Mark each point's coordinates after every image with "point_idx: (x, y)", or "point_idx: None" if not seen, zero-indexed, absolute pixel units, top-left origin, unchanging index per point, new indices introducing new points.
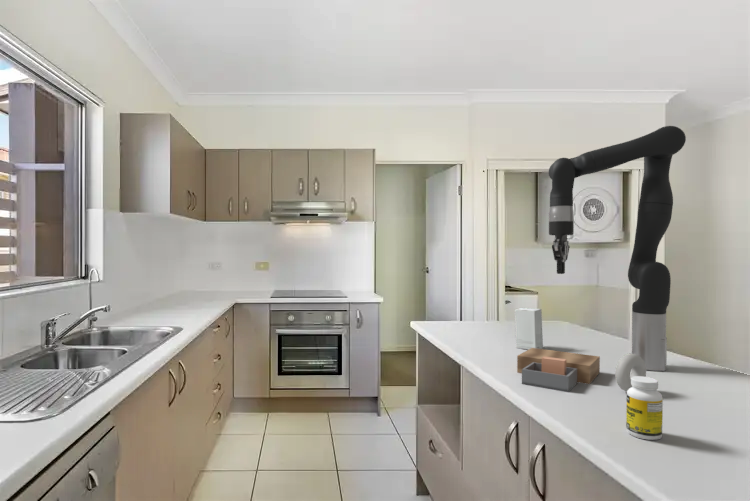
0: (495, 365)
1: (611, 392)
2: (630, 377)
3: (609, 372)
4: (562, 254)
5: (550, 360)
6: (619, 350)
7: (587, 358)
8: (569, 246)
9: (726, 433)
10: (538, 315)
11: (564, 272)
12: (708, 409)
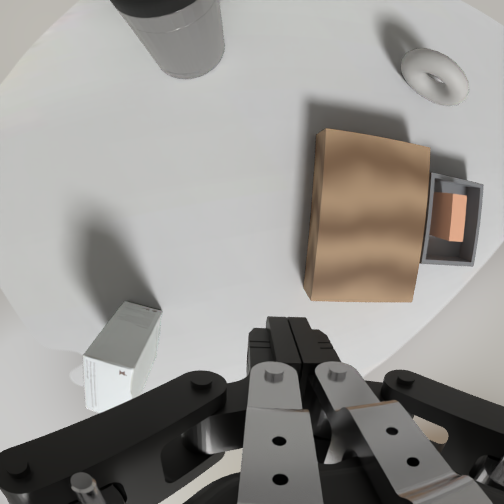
0: (360, 343)
1: (436, 116)
2: (422, 79)
3: (293, 115)
4: (434, 406)
5: (463, 223)
6: (38, 136)
7: (366, 154)
8: (12, 470)
9: (491, 27)
10: (114, 351)
11: (283, 317)
12: (429, 8)
